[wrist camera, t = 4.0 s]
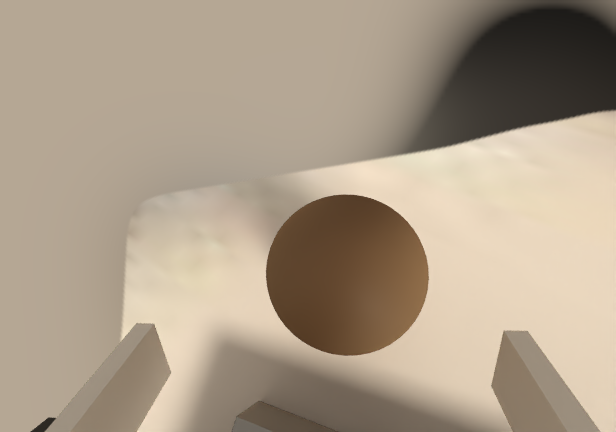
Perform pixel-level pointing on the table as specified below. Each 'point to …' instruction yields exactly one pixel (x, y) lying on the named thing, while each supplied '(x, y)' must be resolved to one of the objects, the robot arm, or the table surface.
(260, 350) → the table surface
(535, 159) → the table surface
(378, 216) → the peg
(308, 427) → the socket
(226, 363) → the table surface
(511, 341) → the robot arm
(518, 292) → the table surface
